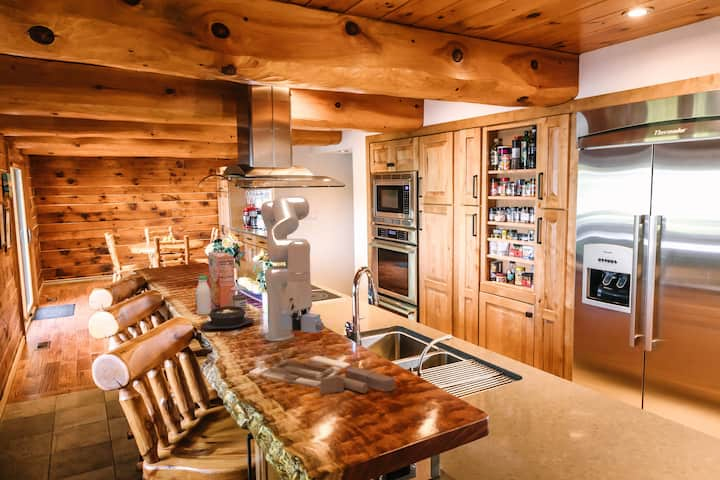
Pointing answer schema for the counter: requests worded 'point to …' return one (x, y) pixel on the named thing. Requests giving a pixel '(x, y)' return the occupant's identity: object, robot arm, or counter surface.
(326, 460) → the counter surface
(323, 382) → the wooden block set
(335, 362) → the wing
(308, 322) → the notched grey stepped bar
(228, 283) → the pasta box
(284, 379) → the jig
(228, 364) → the counter surface
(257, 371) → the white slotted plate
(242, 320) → the casserole
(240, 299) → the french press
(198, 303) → the milk bottle
